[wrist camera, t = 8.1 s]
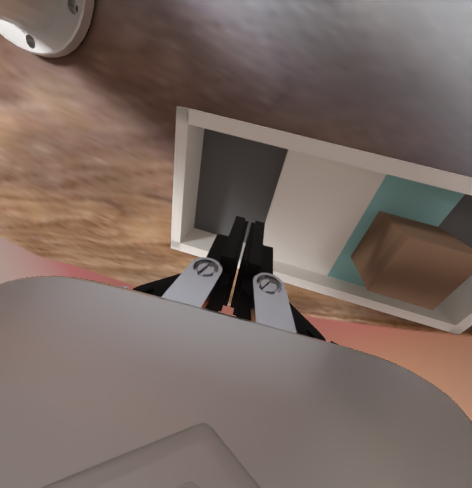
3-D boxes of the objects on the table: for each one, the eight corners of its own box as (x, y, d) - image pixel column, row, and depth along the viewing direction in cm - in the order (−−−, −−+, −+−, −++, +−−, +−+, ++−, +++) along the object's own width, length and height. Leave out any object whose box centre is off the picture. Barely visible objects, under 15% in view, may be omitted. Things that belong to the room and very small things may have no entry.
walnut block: (379, 210, 18) (409, 237, 13) (438, 226, 17) (488, 259, 13) (350, 256, 20) (367, 290, 16) (401, 271, 20) (432, 310, 16)
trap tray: (196, 109, 18) (176, 105, 15) (548, 196, 16) (618, 214, 13) (186, 232, 25) (170, 248, 22) (433, 304, 23) (458, 335, 20)
